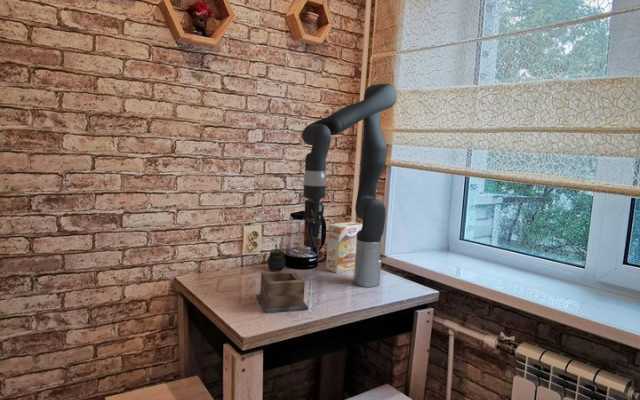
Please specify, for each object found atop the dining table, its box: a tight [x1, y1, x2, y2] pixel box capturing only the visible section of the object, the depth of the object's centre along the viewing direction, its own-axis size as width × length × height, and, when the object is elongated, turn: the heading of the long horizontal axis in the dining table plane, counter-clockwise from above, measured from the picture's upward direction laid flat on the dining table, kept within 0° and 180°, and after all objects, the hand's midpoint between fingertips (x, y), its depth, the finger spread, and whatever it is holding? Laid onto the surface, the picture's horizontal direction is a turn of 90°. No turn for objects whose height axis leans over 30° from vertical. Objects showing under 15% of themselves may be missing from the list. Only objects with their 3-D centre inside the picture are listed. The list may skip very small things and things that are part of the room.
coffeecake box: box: [325, 221, 363, 274], centre depth 184 cm, size 15×7×20 cm, turn 132°
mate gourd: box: [267, 243, 286, 272], centre depth 178 cm, size 7×8×10 cm
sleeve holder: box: [255, 270, 309, 314], centre depth 141 cm, size 14×14×9 cm
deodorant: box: [303, 201, 323, 248], centre depth 149 cm, size 6×6×15 cm
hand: (312, 232), depth 150 cm, fingers closed on deodorant, 6 cm apart
